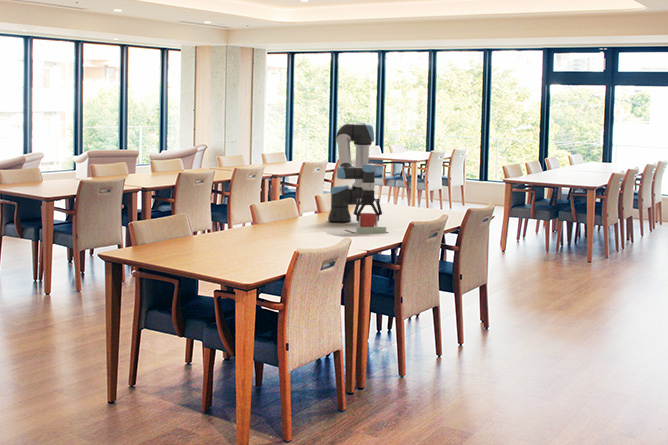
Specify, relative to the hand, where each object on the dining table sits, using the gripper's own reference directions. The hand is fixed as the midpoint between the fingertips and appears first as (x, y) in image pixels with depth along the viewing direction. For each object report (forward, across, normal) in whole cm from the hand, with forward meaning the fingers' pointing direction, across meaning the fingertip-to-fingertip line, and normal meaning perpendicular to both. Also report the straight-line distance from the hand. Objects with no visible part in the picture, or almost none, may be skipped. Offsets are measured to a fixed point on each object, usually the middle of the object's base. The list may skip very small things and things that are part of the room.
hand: (367, 226), depth 462 cm
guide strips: (+3, 0, +2) cm, 4 cm away
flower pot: (+2, 0, 0) cm, 2 cm away
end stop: (+3, 0, -7) cm, 8 cm away
